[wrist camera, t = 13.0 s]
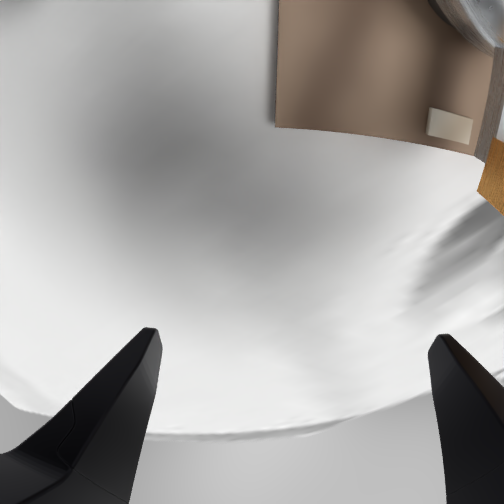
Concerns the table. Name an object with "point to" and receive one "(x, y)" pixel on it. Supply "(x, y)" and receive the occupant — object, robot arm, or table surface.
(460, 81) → the base plate
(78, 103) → the table surface
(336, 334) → the table surface
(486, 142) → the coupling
